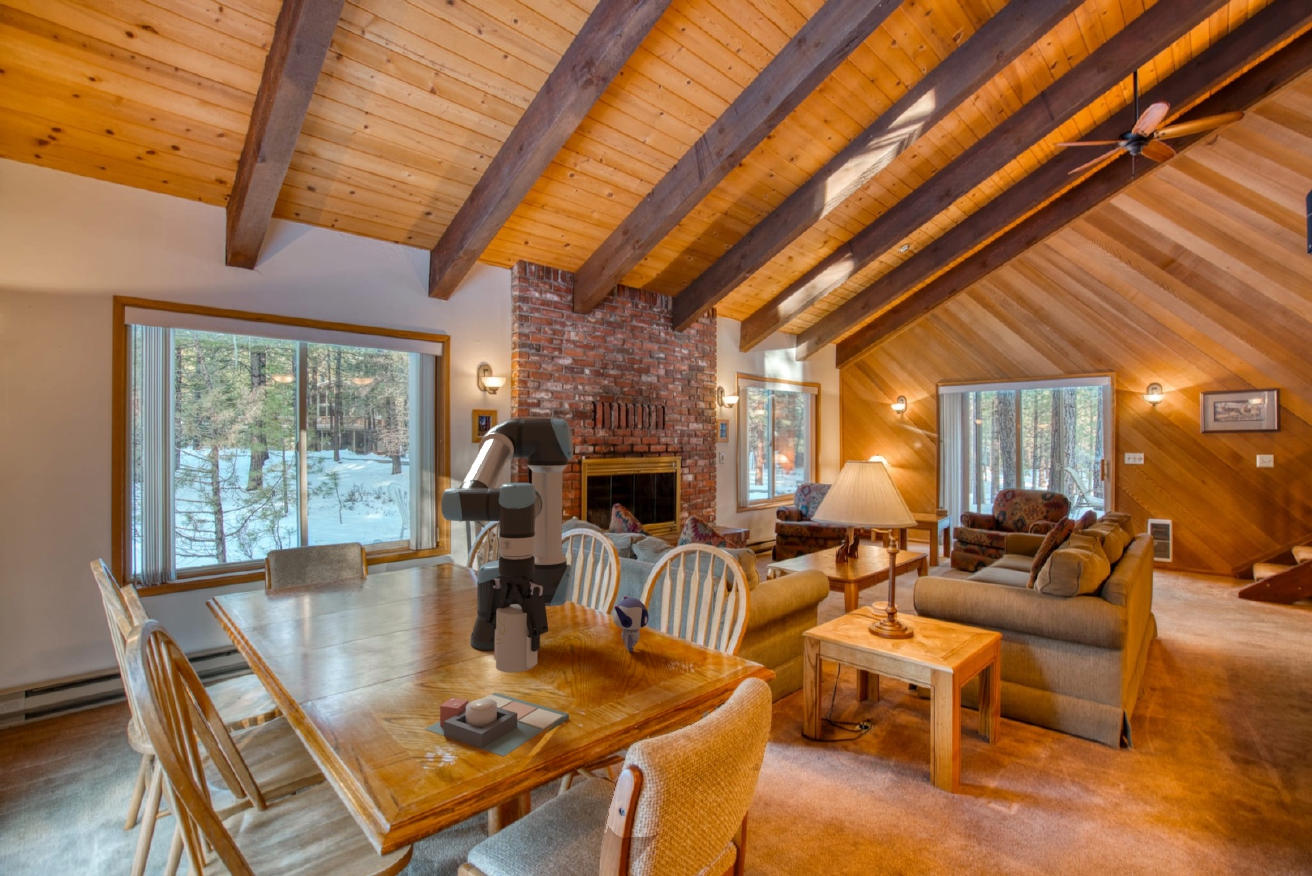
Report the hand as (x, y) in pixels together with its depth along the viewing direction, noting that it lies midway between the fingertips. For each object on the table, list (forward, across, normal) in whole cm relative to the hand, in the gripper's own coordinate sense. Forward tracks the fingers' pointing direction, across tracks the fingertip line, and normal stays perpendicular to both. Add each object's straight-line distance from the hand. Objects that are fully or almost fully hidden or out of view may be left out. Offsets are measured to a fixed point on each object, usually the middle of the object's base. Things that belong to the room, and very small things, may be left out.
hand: (515, 661), depth 132 cm
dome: (+10, 0, -10) cm, 14 cm away
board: (+12, 0, -5) cm, 13 cm away
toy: (+12, +1, +46) cm, 48 cm away
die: (+11, -8, -10) cm, 17 cm away
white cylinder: (+1, 0, 0) cm, 1 cm away
